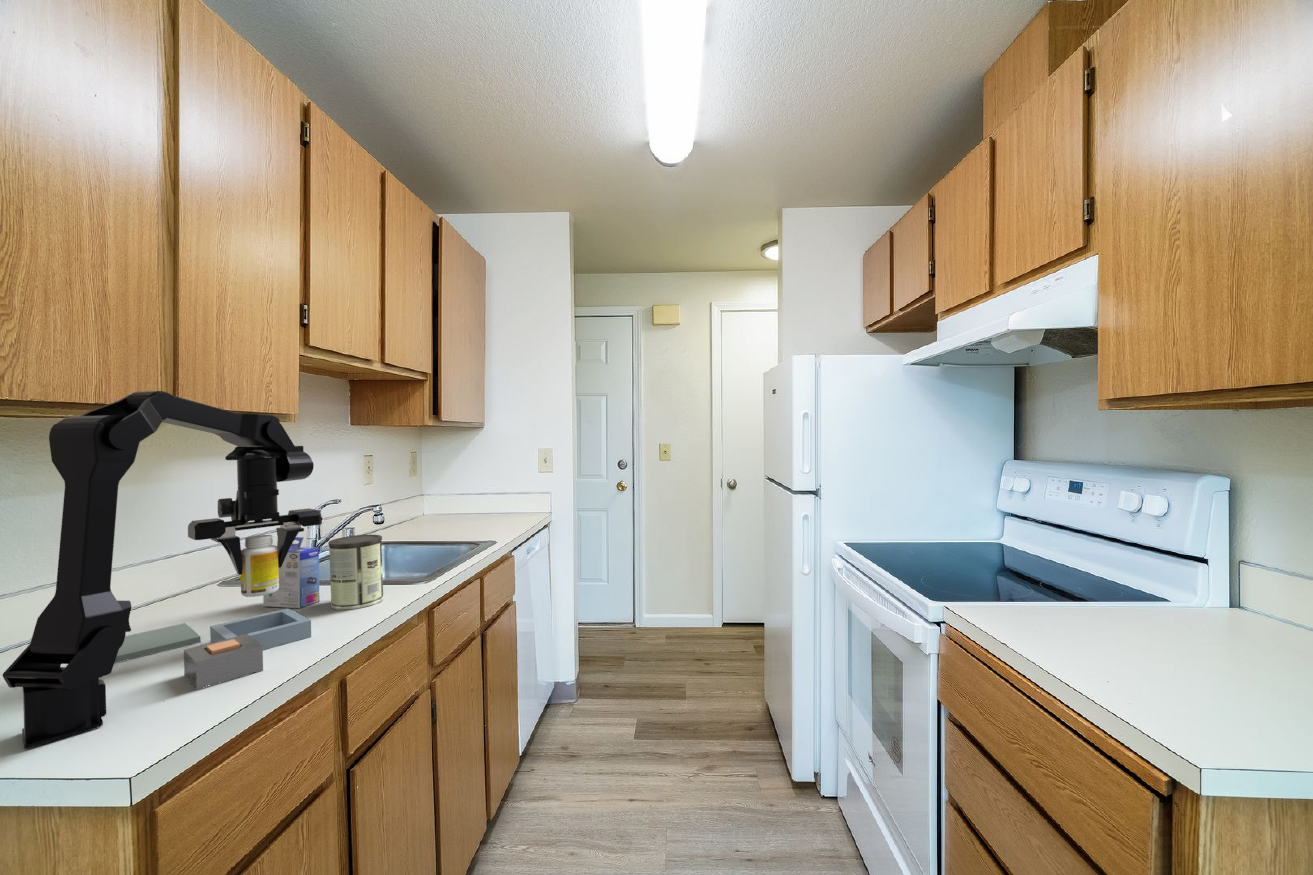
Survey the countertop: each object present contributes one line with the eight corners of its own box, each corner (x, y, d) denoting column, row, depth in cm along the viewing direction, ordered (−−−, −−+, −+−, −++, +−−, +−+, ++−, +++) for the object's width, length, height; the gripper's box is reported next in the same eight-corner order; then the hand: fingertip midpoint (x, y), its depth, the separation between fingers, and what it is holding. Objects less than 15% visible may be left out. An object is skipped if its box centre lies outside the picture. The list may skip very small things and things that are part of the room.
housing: (229, 659, 89) (228, 640, 88) (210, 642, 96) (210, 625, 96) (311, 636, 98) (310, 620, 98) (288, 623, 105) (287, 608, 105)
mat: (105, 665, 87) (105, 659, 87) (96, 648, 95) (96, 642, 95) (200, 641, 97) (200, 636, 96) (185, 628, 104) (185, 622, 104)
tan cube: (212, 670, 81) (212, 650, 81) (207, 665, 83) (206, 645, 83) (240, 663, 83) (239, 643, 83) (234, 657, 86) (233, 638, 86)
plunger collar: (196, 690, 78) (196, 662, 78) (184, 675, 83) (183, 649, 83) (263, 670, 84) (262, 644, 84) (247, 657, 89) (247, 633, 89)
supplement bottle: (286, 588, 99) (285, 533, 99) (261, 597, 94) (260, 539, 94) (258, 588, 100) (257, 533, 100) (232, 597, 94) (231, 539, 94)
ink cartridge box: (321, 601, 120) (320, 536, 120) (300, 609, 114) (299, 541, 114) (284, 599, 122) (283, 535, 122) (262, 607, 116) (260, 540, 116)
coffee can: (345, 596, 123) (343, 535, 123) (391, 594, 124) (390, 533, 124) (319, 611, 113) (318, 544, 113) (370, 609, 113) (368, 542, 113)
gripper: (300, 478, 109) (302, 555, 109) (179, 487, 95) (181, 575, 95) (321, 480, 102) (323, 562, 102) (194, 490, 88) (197, 585, 88)
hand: (259, 570), depth 97 cm, fingers closed on supplement bottle, 6 cm apart
